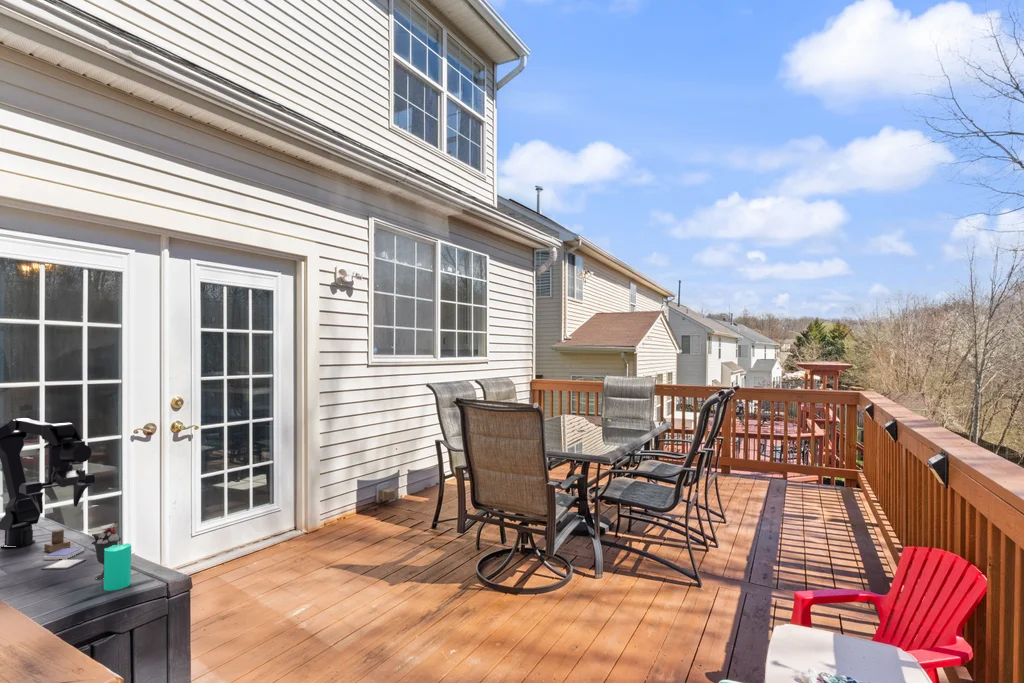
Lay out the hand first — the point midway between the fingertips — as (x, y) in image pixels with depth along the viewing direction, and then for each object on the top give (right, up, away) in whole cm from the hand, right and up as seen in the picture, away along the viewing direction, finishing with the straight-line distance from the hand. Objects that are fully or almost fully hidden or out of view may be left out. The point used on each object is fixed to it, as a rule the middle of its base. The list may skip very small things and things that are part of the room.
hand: (58, 509), depth 175 cm
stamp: (0, -13, 0) cm, 13 cm away
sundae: (+33, -12, -23) cm, 42 cm away
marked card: (+14, -12, -14) cm, 23 cm away
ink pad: (+7, -13, -6) cm, 16 cm away
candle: (+42, -11, -30) cm, 53 cm away
